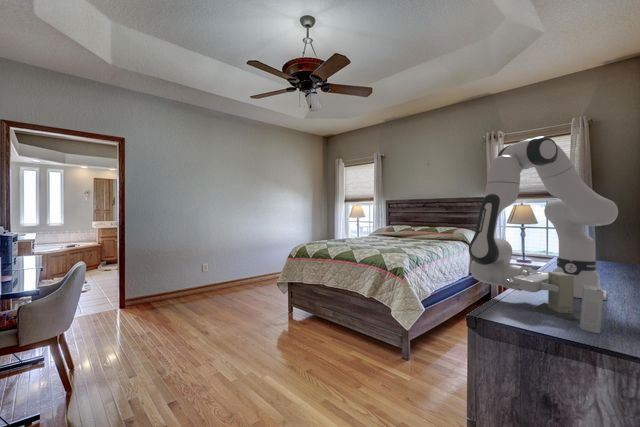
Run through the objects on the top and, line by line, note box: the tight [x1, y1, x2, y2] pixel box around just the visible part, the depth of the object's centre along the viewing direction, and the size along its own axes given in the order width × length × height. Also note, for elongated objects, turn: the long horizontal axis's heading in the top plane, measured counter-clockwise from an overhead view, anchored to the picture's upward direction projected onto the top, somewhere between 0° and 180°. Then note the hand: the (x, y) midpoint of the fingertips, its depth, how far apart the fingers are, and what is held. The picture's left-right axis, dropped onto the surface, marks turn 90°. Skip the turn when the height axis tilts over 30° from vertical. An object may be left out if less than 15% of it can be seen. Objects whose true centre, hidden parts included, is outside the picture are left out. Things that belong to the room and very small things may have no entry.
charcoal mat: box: [532, 302, 581, 324], centre depth 97 cm, size 10×12×1 cm
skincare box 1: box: [547, 271, 575, 314], centre depth 96 cm, size 6×4×12 cm
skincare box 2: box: [579, 285, 604, 334], centre depth 84 cm, size 6×4×12 cm
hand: (564, 286), depth 96 cm, fingers open, 8 cm apart
